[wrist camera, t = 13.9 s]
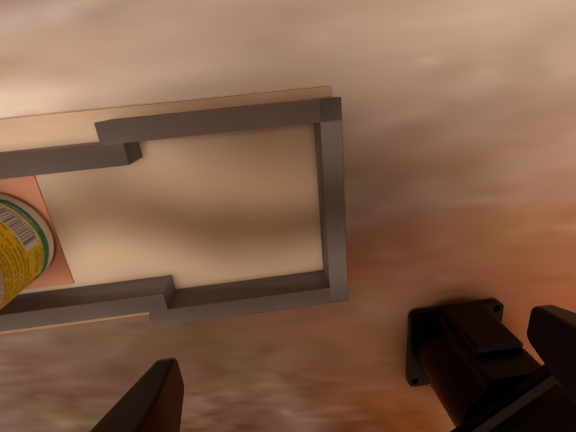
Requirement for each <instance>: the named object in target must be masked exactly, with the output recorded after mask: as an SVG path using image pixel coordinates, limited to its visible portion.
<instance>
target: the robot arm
mask: <svg viewBox="0 0 576 432" xmlns="http://www.w3.org/2000/svg"><path fill="white" fill-rule="evenodd" d="M503 308H504V306H503V304H502V303H501V302H500V301H499V300H497V299H491V300H484V301H477V302H470V303H462V304H455V305H448V306H441V307H433V308H426V309H419V310H414V311H412V312H411V313H410V314H409V323H408V347H407V371H406V379H407V381H408V383H409V385H410V386H420V385H427V384H430V385H431V386H432V388H433V390H434V391H435V393H436V395H437V396H438V398H439V400H440V401H441V403H442V405H443V407H444V408H445V410H446V412H447V413H448V415H449V417H450V418H451V420H452V422H453V423H454V425H455V427H456V428H455V429H453V430H452V431H450V432H576V313H574V312H571V311H568V310H565V309H562V308H559V307H557V306H554V305H543V306H536V307H534V308H533V309H532V310H531V314H530V319H529V324H528V329H527V336H528V340H529V342H530V343H531V345H532V346H533V348H534V349H535V350H536V352H537V353H538V355H539V356H540V357H541V359H542V360H543V362H544V363H545V364H544V365H542V366H541V365H540V364H539V363H538V362H537V361H536V360H535V359H534V358H533V357H532V356H531V355H530V354H529V353H528V352H527V351H526V350H525V349H524V348H523V343H522V342H521V341H520V340H519V339H518V338H517V337H516V336H515V335H513V334H512V333H511V332H510V331H509V330H508V329H507V328H506V327H505V326H504V325H503V324H502V323H501V321H502V315H503ZM416 317H418V318H417V319H415V318H416ZM183 396H184V384H183V380H182V376H181V372H180V368H179V365H178V361H177V360H176V358H166V359H160V360H158V361H156V362H155V363H154V364H153V365H152V367H151V368H150V369H149V370H148V371H147V372H146V373H145V374H144V375H143V376H142V377H141V378H140V379H139V380H138V381H137V382H136V383H135V384H134V386H133V387H132V388H131V389H130V390H129V391H128V392H127V393H126V394H125V395H124V396H123V397H122V398H121V399H120V400H119V401H118V402H117V403H116V405H115V406H114V407H113V408H112V409H111V410H110V411H109V412H108V413H107V414H106V415H105V416H104V417H103V418H102V419H101V420H100V421H99V422H98V424H97V425H96V426H95V427H94V428H93V429H92V430H91V431H90V432H180V423H181V414H182V405H183Z"/></svg>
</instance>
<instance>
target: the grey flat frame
mask: <svg viewBox="0 0 576 432" xmlns="http://www.w3.org/2000/svg"><path fill="white" fill-rule="evenodd" d="M0 194H3V195H7V196H10V197H13V198H15V199H17V200H20V201H22V202H23V203H25V204H27V205H28V206H30V207H31V208H32V209H34V210H35V211H36V212H37V213H38V214H39V215H40V216H41V217H42V218H43V220H44V221H45V222H46V224H47V226H48V228H49V229H50V232H51V234H52V237H53V245H54V252H53V257H52V261H51V263H50V265H49V266H48V268H47V269H46V270H45V271H44V272H43V273H42V274H41V275H40V276H39V277H38V278H37V279H36V280H34V281H33V282H32V283H31V284H30V285H29V286H27V287H26V288H25V289H24V290H23V291H21V292H20V293H19V294H18V295H17V296H16V297H15V298H13V299H12V300H11V301H10V302H9V303H7V304H6V305H5V306H4V307H3V308H2V309H0V334H5V333H13V332H20V331H28V330H35V329H43V328H50V327H58V326H65V325H73V324H80V323H88V322H95V321H103V320H110V319H118V318H125V317H133V316H140V315H148V314H150V318H151V321H152V325H153V327H157V326H164V325H171V324H179V323H186V322H194V321H201V320H208V319H216V318H223V317H230V316H238V315H245V314H253V313H260V312H267V311H275V310H282V309H289V308H297V307H304V306H312V305H319V304H326V303H334V302H341V301H348V283H347V255H346V227H345V199H344V170H343V142H342V114H341V97H332V95H331V86H327V87H317V88H307V89H297V90H287V91H277V92H267V93H258V94H248V95H238V96H228V97H218V98H208V99H198V100H188V101H178V102H168V103H158V104H148V105H138V106H129V107H119V108H109V109H99V110H89V111H79V112H69V113H59V114H49V115H39V116H29V117H19V118H9V119H0Z"/></svg>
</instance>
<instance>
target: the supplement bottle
mask: <svg viewBox="0 0 576 432" xmlns="http://www.w3.org/2000/svg"><path fill="white" fill-rule="evenodd" d="M53 252H54V245H53V237H52V234H51V232H50V229H49V228H48V226H47V224H46V222H45V221H44V220H43V218H42V217H41V216H40V215H39V214H38V213H37V212H36V211H35V210H34V209H32V208H31V207H30V206H28V205H27V204H25V203H23V202H22V201H20V200H17V199H15V198H13V197H10V196H7V195H3V194H0V309H2V308H3V307H4V306H5V305H6V304H7V303H9V302H10V301H11V300H12V299H13V298H15V297H16V296H17V295H18V294H19V293H20V292H21V291H23V290H24V289H25V288H26V287H27V286H29V285H30V284H31V283H32V282H33V281H34V280H36V279H37V278H38V277H39V276H40V275H41V274H42V273H43V272H44V271H45V270H46V269H47V268H48V266H49V265H50V263H51V261H52V257H53Z"/></svg>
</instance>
